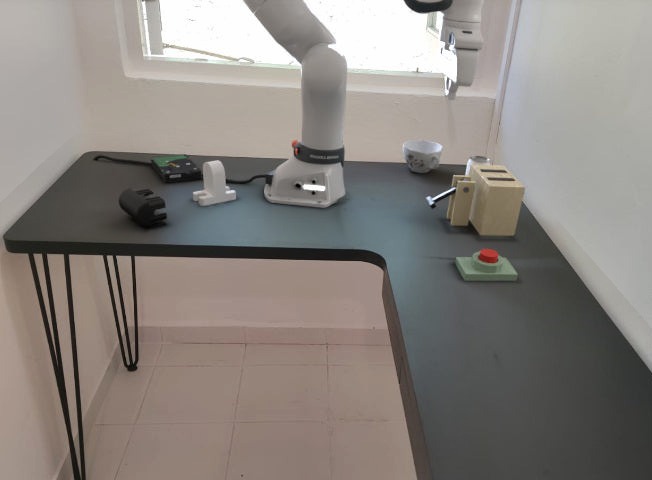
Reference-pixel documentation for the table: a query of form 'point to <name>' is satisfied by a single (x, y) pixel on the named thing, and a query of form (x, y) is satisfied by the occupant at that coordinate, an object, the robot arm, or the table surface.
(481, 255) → the button
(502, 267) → the green button base
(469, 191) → the lever bracket
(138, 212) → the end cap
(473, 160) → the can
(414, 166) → the teacup
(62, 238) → the table surface
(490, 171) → the toaster
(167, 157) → the disk drive
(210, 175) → the white mounting bracket
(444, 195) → the lever
